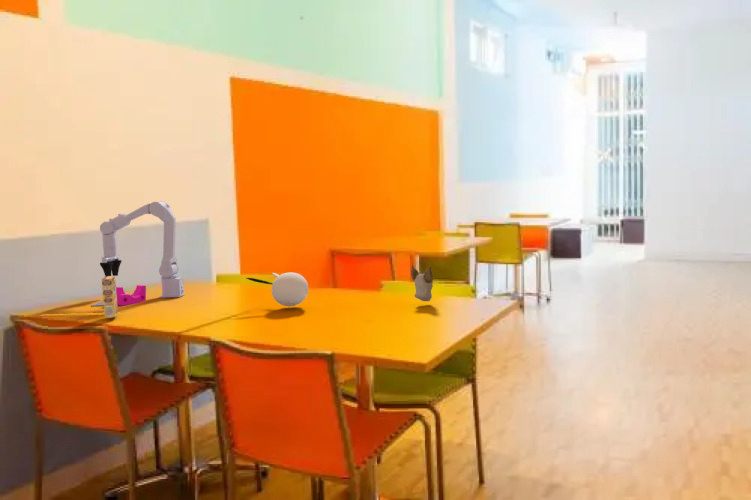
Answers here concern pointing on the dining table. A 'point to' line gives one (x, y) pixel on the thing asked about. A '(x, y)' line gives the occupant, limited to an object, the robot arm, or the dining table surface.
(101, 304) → the rubber mat
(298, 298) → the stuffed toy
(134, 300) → the toy block
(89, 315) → the dining table surface
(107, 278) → the candy box
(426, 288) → the ceramic sculpture
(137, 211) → the robot arm
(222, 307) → the dining table surface
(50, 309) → the dining table surface
